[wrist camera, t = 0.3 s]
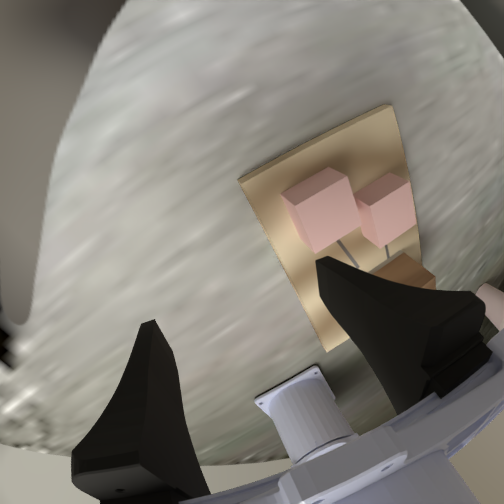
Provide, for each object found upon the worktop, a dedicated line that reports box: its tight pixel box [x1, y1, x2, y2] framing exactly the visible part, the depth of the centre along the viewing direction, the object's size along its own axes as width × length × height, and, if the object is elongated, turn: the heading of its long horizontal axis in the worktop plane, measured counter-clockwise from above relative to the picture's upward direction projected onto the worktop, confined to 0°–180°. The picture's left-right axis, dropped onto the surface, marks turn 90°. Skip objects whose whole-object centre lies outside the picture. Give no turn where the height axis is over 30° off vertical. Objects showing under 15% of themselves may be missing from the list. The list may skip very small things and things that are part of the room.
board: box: [238, 104, 422, 352], centre depth 26 cm, size 20×13×1 cm, turn 26°
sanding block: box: [367, 250, 436, 290], centre depth 26 cm, size 4×8×5 cm, turn 116°
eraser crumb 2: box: [353, 172, 417, 249], centre depth 23 cm, size 4×4×2 cm
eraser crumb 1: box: [280, 167, 362, 254], centre depth 21 cm, size 4×4×2 cm
